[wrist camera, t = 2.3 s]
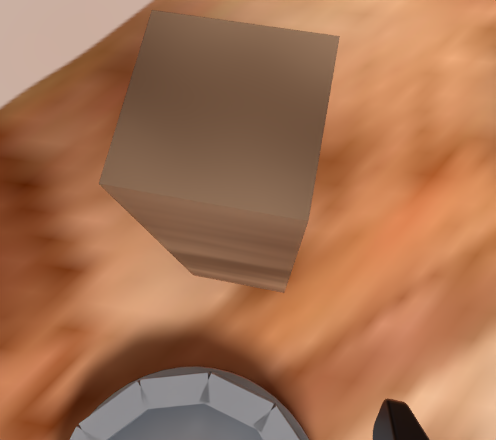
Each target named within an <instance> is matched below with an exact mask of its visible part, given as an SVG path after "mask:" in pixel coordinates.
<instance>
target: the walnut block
mask: <svg viewBox="0 0 496 440" xmlns="http://www.w3.org/2000/svg"><path fill="white" fill-rule="evenodd" d="M339 37H340V36H334V35H327V34H320V33H312V32H305V31H298V30H291V29H284V28H277V27H270V26H262V25H255V24H248V23H241V22H234V21H227V20H220V19H212V18H205V17H198V16H191V15H184V14H177V13H170V12H162V11H155V10H152V12H151V15H150V18H149V21H148V25H147V28H146V31H145V34H144V38H143V41H142V44H141V47H140V51H139V54H138V57H137V61H136V64H135V67H134V70H133V74H132V77H131V80H130V83H129V87H128V90H127V93H126V96H125V100H124V103H123V106H122V109H121V113H120V116H119V119H118V123H117V126H116V129H115V132H114V136H113V139H112V142H111V145H110V149H109V152H108V155H107V158H106V162H105V165H104V168H103V172H102V175H101V178H100V181H99V184H100V185H101V186H102V187H103V188H104V189H105V190H106V191H107V192H108V193H109V194H110V195H111V196H112V197H113V198H114V199H115V200H116V201H117V202H118V203H119V204H120V205H121V206H122V207H123V208H124V209H126V210H127V211H128V212H129V213H130V214H131V215H132V216H133V217H134V218H135V219H136V220H137V221H138V222H139V223H140V224H141V225H142V226H143V227H144V228H145V229H146V230H147V231H148V232H149V233H150V234H151V235H152V236H153V237H154V238H155V239H157V240H158V241H159V242H160V243H161V244H162V245H163V246H164V247H165V248H166V249H167V250H168V251H169V252H170V253H171V254H172V255H173V256H174V257H175V258H176V259H177V260H178V261H179V262H180V263H181V264H182V265H183V266H184V267H185V268H186V269H188V270H189V271H190V272H191V273H192V274H193V275H195V276H201V277H206V278H211V279H216V280H221V281H226V282H231V283H236V284H242V285H247V286H252V287H257V288H262V289H267V290H272V291H277V292H283V293H284V292H285V289H286V286H287V283H288V280H289V277H290V274H291V271H292V268H293V265H294V262H295V259H296V256H297V253H298V250H299V247H300V244H301V241H302V238H303V235H304V232H305V229H306V227H307V224H308V220H309V214H310V208H311V202H312V196H313V190H314V184H315V179H316V173H317V167H318V161H319V155H320V149H321V143H322V137H323V131H324V125H325V119H326V114H327V108H328V102H329V96H330V90H331V84H332V78H333V72H334V66H335V60H336V54H337V48H338V43H339Z"/></svg>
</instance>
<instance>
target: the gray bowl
mask: <svg viewBox="0 0 496 440" xmlns="http://www.w3.org/2000/svg"><path fill="white" fill-rule="evenodd" d="M70 440H309V439H308V437H307V435H306V434H305V432H304V430H303V429H302V427H301V425H300V424H299V423H298V421H297V420H296V419H295V417H294V416H293V415H292V414H291V412H290V411H289V410H288V409H287V408H286V407H285V406H284V405H283V404H282V403H281V402H280V401H279V400H278V399H277V398H276V397H275V396H273V395H272V394H271V393H269V392H268V391H267V390H266V389H264V388H263V387H262V386H260V385H258V384H256V383H254V382H253V381H251V380H249V379H247V378H245V377H243V376H240V375H238V374H235V373H233V372H229V371H225V370H221V369H217V368H211V367H201V366H192V367H178V368H173V369H167V370H162V371H159V372H156V373H153V374H150V375H146V376H144V377H142V378H140V379H138V380H135V381H133V382H131V383H129V384H128V385H126V386H124V387H123V388H121V389H120V390H118V391H117V392H115V393H114V394H112V395H111V396H110V397H109V398H108V399H106V400H105V401H104V402H103V403H101V404H100V405H99V406H98V407H97V408H96V409H95V410H94V412H93V413H92V414H91V415H90V416H89V417H87V418H86V419H85V420H83V421H82V422H80V423H79V426H77V427H76V428H75V430H74V432H73V434H72V436H71V438H70Z"/></svg>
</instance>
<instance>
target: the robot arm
mask: <svg viewBox="0 0 496 440" xmlns="http://www.w3.org/2000/svg"><path fill="white" fill-rule="evenodd" d="M373 440H429V438H428V436H427V435H426V433H425V432H424V430H423V429H422V427H421V425H420V424H419V422H418V421H417V419H416V417H415V416H414V414H413V413H412V411H411V410H410V408H409V406H408V405H407V404H406V403H404V402H402V401H397V400H393V399H385V400H384V401H383V403H382V406H381V408H380V411H379V413H378V416H377V418H376V421H375V424H374V428H373Z"/></svg>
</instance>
